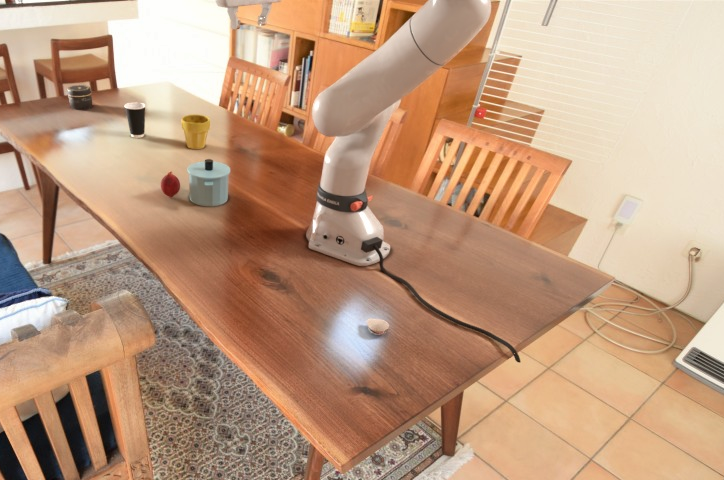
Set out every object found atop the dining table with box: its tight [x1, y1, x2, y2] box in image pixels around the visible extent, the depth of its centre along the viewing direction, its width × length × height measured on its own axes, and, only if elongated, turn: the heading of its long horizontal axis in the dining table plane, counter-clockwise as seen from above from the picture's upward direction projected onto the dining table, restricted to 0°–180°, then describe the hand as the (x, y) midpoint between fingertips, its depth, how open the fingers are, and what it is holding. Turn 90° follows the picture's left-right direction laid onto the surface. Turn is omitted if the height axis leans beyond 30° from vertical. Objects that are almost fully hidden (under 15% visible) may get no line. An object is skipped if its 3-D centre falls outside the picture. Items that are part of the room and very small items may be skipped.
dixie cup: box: [123, 101, 147, 139], centre depth 185 cm, size 8×8×11 cm
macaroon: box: [366, 318, 390, 336], centre depth 102 cm, size 4×5×2 cm
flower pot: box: [181, 114, 211, 150], centre depth 178 cm, size 10×10×10 cm
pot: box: [188, 173, 230, 207], centre depth 146 cm, size 12×17×8 cm
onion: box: [160, 170, 181, 198], centre depth 146 cm, size 6×6×8 cm
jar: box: [66, 84, 93, 111], centre depth 213 cm, size 10×10×8 cm
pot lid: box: [186, 158, 231, 179], centre depth 142 cm, size 13×13×4 cm
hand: (248, 27), depth 119 cm, fingers open, 8 cm apart
